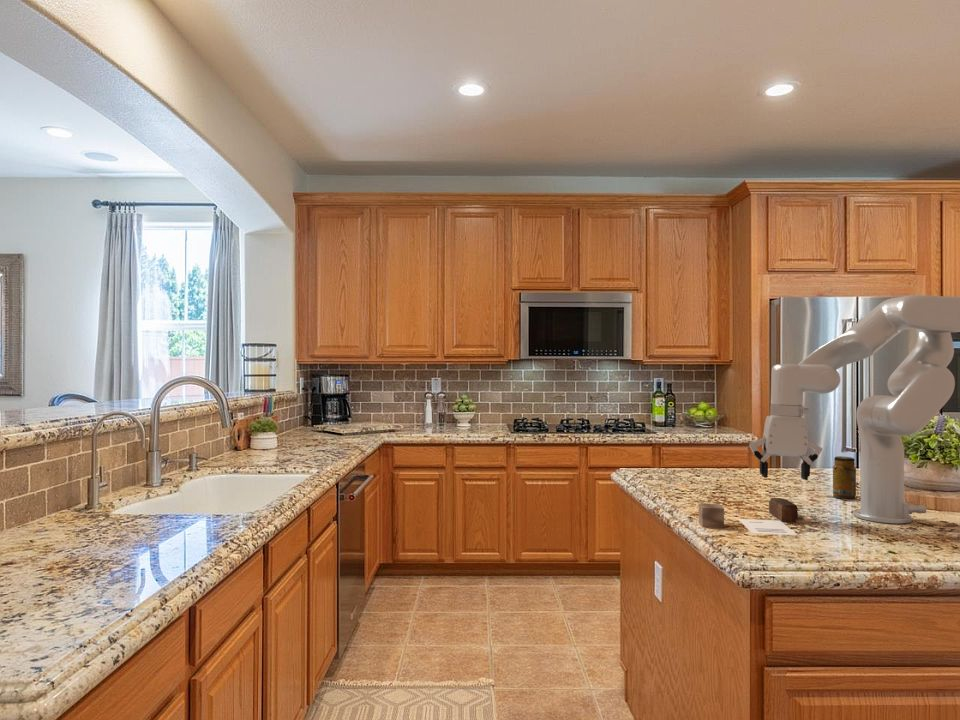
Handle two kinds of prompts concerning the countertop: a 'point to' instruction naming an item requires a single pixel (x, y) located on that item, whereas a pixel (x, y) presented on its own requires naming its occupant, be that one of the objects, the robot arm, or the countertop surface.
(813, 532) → the countertop surface
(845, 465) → the condiment
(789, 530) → the letter
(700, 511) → the walnut block
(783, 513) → the brick
